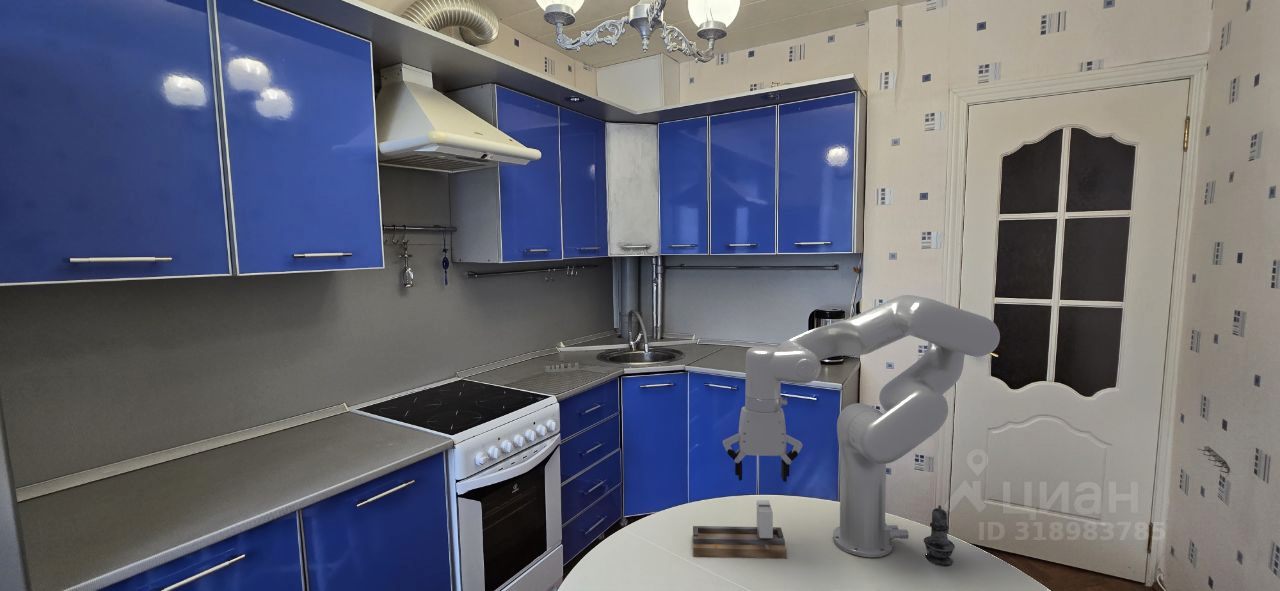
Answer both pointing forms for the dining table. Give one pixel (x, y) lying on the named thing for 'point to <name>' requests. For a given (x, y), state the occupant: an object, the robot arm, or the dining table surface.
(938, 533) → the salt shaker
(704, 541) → the wooden tray
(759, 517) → the block
